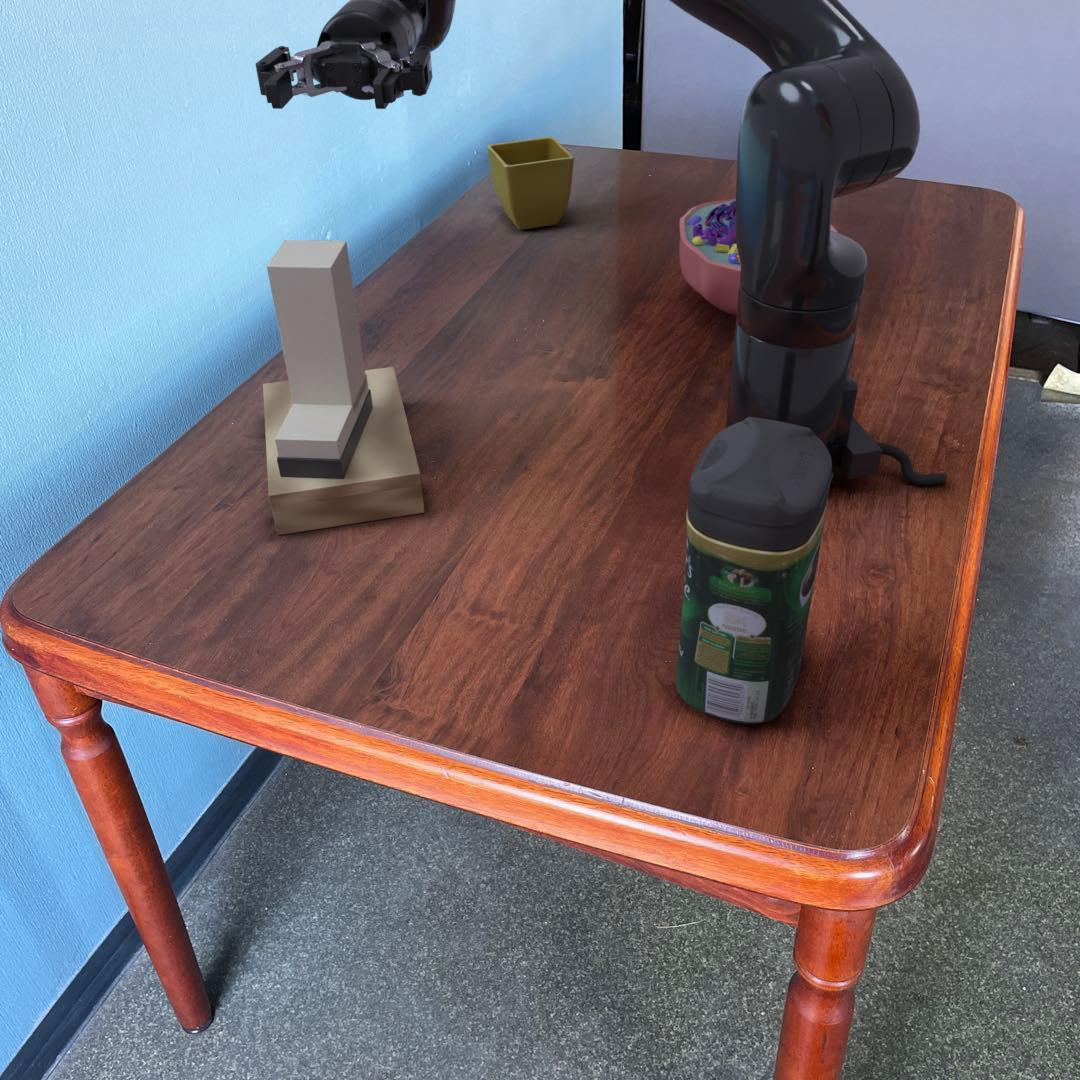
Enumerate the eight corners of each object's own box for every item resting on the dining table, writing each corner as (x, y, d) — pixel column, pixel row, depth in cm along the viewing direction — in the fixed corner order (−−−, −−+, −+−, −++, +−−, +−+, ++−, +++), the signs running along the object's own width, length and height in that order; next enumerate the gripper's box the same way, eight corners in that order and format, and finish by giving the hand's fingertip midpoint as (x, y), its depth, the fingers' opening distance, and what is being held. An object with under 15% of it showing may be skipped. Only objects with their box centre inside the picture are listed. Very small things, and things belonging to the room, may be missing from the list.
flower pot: (490, 214, 139) (486, 143, 133) (554, 204, 141) (552, 135, 135) (508, 239, 132) (505, 166, 127) (575, 229, 134) (575, 157, 129)
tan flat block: (398, 403, 102) (393, 366, 100) (424, 512, 89) (420, 473, 86) (270, 420, 101) (262, 383, 98) (277, 535, 87) (268, 495, 84)
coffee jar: (701, 617, 78) (721, 395, 66) (810, 646, 75) (850, 419, 64) (658, 710, 71) (672, 479, 59) (777, 744, 68) (816, 510, 57)
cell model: (652, 333, 112) (657, 229, 105) (694, 257, 127) (700, 161, 120) (817, 355, 108) (833, 248, 101) (840, 273, 122) (855, 174, 115)
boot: (315, 405, 95) (285, 237, 85) (373, 407, 94) (349, 237, 85) (280, 477, 86) (242, 298, 77) (343, 479, 86) (313, 300, 76)
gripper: (286, -1, 97) (230, 46, 84) (442, -2, 96) (409, 45, 83) (300, 86, 102) (248, 143, 89) (449, 86, 100) (418, 144, 88)
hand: (326, 96), depth 86 cm, fingers open, 8 cm apart
